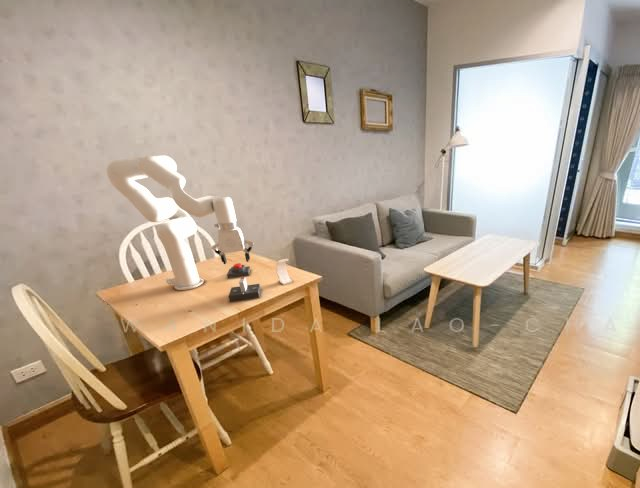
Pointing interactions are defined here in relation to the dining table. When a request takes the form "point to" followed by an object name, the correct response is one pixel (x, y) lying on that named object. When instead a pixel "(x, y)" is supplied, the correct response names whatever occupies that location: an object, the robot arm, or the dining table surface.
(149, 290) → the dining table surface
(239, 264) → the button
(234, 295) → the device
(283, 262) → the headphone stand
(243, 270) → the button block
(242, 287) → the grey rectangular block
